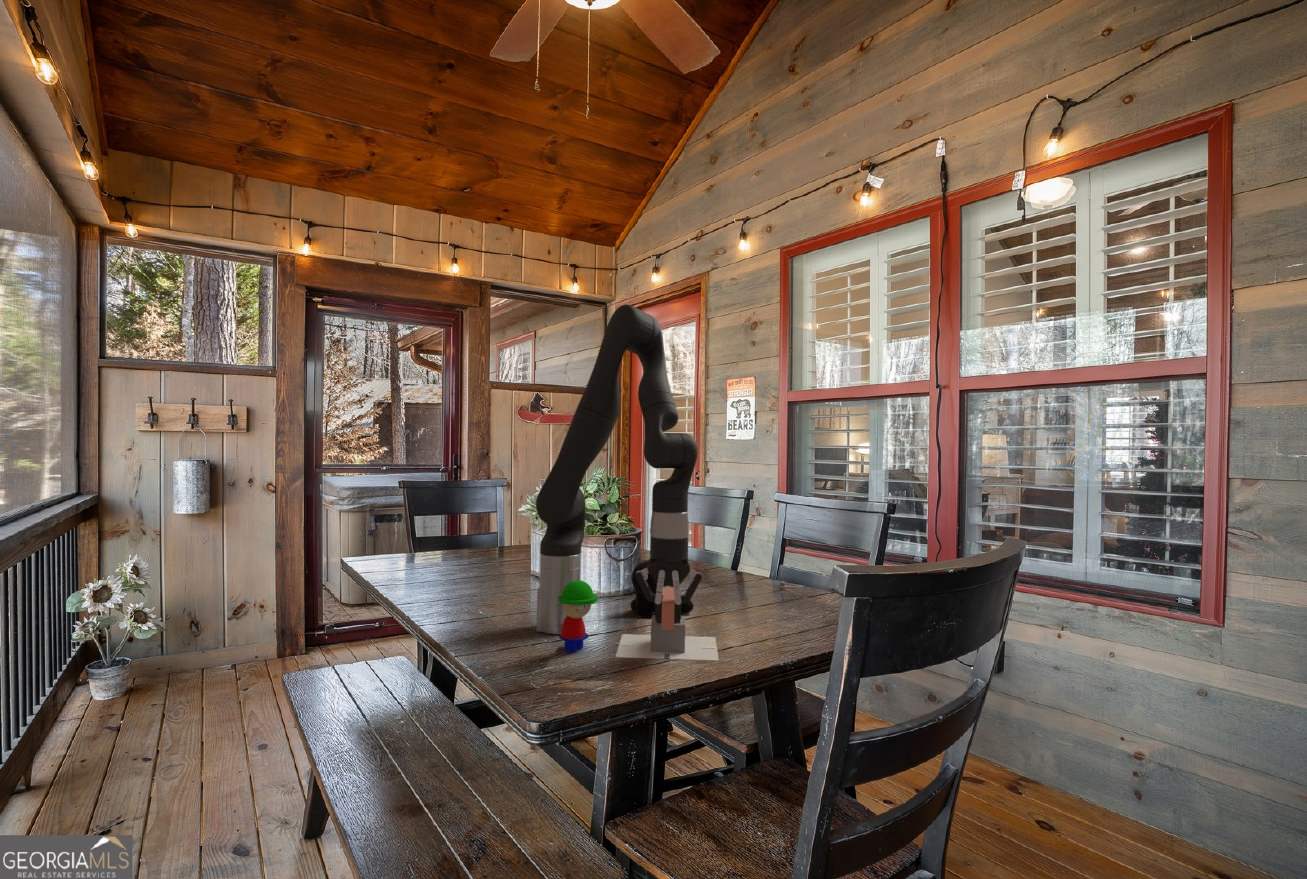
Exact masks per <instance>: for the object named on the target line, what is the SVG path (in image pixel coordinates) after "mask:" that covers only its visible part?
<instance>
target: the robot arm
mask: <svg viewBox="0 0 1307 879" xmlns="http://www.w3.org/2000/svg"><path fill="white" fill-rule="evenodd" d="M610 316H611V317H610V318H609V321H608V323H607V325H606V328H605V331H604V334H603V338H602V340H601V342H600V343H601V344H600V348H599V350H598V353H597V357H596V360H595V364H594V366H593V368H592V371H591V374H590V376H589V379H588V381H587V384H586V387H585V389H584V391H583V393H582V396H581V397H580V400H579V402H578V403H577V404H578V405H577V407H576V409H575V412H574V414H573V417H572V419H571V421H570V424H569V427H568V429H567V432H566V435H565V437H564V439H563V442H562V445H561V448H560V450H559V453H558V455H557V457H556V460H555V461H554V463H553V466H552V468H551V470H550V472H549V474H547V477H546V478H545V479H546V480H545V481H544V483H543V485H542V486H541V487H540V490H539V492H538V494H537V497H536V501H535V508H536V513H537V515H538V517H539V519H540V520H541V521H542V522H543V523H545V524H546V530H545V532H544V533H545V534H544V536H543V537H542V539H541V541H540V544H539V546H540V547H539V587H538V588H537V590H536V629H535V630H536V632H540V633H545V634H548V635H560V634H561V629H562V624H563V622H564V619H565V618H566V616H567V615H566V614H565V612H564V611H563V608H562V603H560V602H559V601H558V596H559V595H561V594H562V592H563V589H564V588H565V586H566V585H567V584H568V583H570V582H572V581H575V580H581V573H582V572H581V570H582V568H581V567H582V565H581V564H582V563H581V562H582V544H583V542H584V538H585V528H586V527H585V526H586V498H585V495H584V492H583V490H582V489H581V485H582V483H583V479H584V478H585V475H586V473H587V471H588V469H589V468H590V466H591V465H592V464H593V462H594V461H595V460H596V458H597V456H598V455H599V454H600V453H601V451H602V450H603V449H604V447H605V445H606V444H607V442H609V441H608V440H609V439H610V437H611V435H612V432H613V430H614V428H615V426H616V423H617V421H618V417H619V416H620V412H621V395H620V393H621V392H620V384H619V372H620V368H621V363H622V360H623V357H624V356H625V353H626V351H627V352H630V353H631V354H632V353H633V354H635V355H636V356H637V358H638V359H639V361H640V364H641V366H642V371H643V372H642V376H641V379H640V381H639V384H638V389H637V396H638V398H637V399H638V403H639V407H640V410H641V414H642V418H643V422H644V444H643V455H644V459H645V461H646V463H647V464H648V465H649V466H650V467H652V468H653V469H673V471H672V473H671V475H670V476H669V478H667V479H663V480H659V481H656V482H654V484H653V486H652V490H651V491H652V493H651V497H652V498H651V517H650V518H651V519H650V526H649V533H650V534H649V535H650V536H649V537H650V538H649V539H650V540H649V559H650V562H649V564H648V566H647V568H645V569H643V570H641V571H640V570H638V571H637V572H636V575H635V577H636V579H637V581H638V583H639V585H640V587H641V589H642V591H643V593H644V595H645V598H646V600H648V601H652V602H654V603H655V619H656V620H659V623H662V595H663V592H664V588H667V587H670V588H674V596H675V603H674V624H677V621H680V619H681V616H682V613H681V605H682V603H684V602H689V601H690V600H691V601H692V597H693V596H694V594H695V592H696V590H697V588H698V587H699V584H700V583H701V581H702V579H703V575H702V573H701V571H696V570H694V569H692V568H691V565H690V563H689V534H690V528H689V526H690V525H689V524H690V522H689V516H688V515H689V514H688V513H689V512H688V511H689V506H688V505H689V504H688V502H689V489H690V486H691V482H692V477H693V472H694V470H695V467H696V463H697V460H698V454H699V452H698V448H699V447H698V445H697V441H696V440H695V438H694V436H692V435H691V434H689V433H684V432H683V433H682V432H667V431H670V430H671V429H674V427H676V425H677V424H678V422H679V413H678V409H677V405H676V403H675V400H674V396H673V393H672V390H671V387H670V383H669V378H668V372H667V371H668V370H667V362H666V361H667V360H666V353H665V345H664V336H663V330H662V326H661V324H660V322H659V320H657V318H655V317H654V316H652V315H650V314H649V313H646V312H645V311H643V310H640V308H637V307H635V306H634V305H631V304H627V303H626V304H622V305H620V306H618V307H617V308H616V309H615V310H614V311H613V313H612V314H611V315H610ZM648 573H650V575H651V576H652V578H653V579H654V581H655V582H656V583H657V590H656V595H655V594H653V593H652V592H651V590H650V588H649V586H648V584H647V581H646V580H647V578H648V575H647V574H648ZM688 575H689V581H690V584H689V586H688V587H687V589H686V591H685V593H684V594H682V592H681V584H682V583H683V582H684V580H685V579H686V578H687V576H688ZM581 581H582V580H581Z"/></svg>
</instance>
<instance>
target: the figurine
mask: <svg viewBox="0 0 1307 879" xmlns="http://www.w3.org/2000/svg"><path fill="white" fill-rule="evenodd" d="M649 562H650V558H648V560H644V561H640V562H639V563H638V564H637V565H636V566H635V567H634V569H633V570H632V573H631V584H632V586H633V588H634V589H635V598H634V599H633V600H631V601H630V609H631V610H632V611H633V612H634V613H635V615H636V617H640V618H649V619H650V618H651V619H652V616H653V615H655V603H654V602H652V601H648V600H646V598H645V595H644V593H643V591H642V589H641V587H640V585H639V583H638V581H637V579H636V577H635V575H636V572H637V571H638V570H640V571H641V570H643V569H645V568H647V566H648V564H649ZM647 575H648V578H647V580H646V581H647V584H648V586H649V588H650V590H651V592H652V593H653V594H655V595H656V590H657V583H656V582H655V581H654V579H653V578H652V576H651V575H650V573H648V574H647ZM662 599H663V594H662ZM693 610H694V602H693V601H692V599H691V600H690V601H689V602H684V603H682V605H681V614H688V613H690V612H692V611H693Z"/></svg>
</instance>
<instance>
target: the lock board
mask: <svg viewBox="0 0 1307 879" xmlns="http://www.w3.org/2000/svg"><path fill="white" fill-rule="evenodd" d="M614 657H615V658H626V659H627V658H628V659H629V658H630V659H632V658H634V659H655V660H656V659H657V660H659V659H660V660H663V659H664V660H691V661H692V660H693V661H718V662H719V661H720V660H719V654H718V647H717V640H716V636H694V635H693V636H692V635H691V636H690V635H689V636H687V635H685V653H674V652H651V634H623V633H622V635H621V638H620V641H619V644H618V647H617V650H616V654H615V656H614Z"/></svg>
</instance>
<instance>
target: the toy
mask: <svg viewBox="0 0 1307 879" xmlns="http://www.w3.org/2000/svg"><path fill="white" fill-rule="evenodd" d="M598 597H599V596H598V595H597V594H595V593H594V591H593V588H592V587H591V585H590V584H589V583H588V582H586V581H585V580H575V581H572V582H570V583H568V584H567V585H566V586H565V588H564V589H563V592H562V594H561V595H559V596H558V601H559V602H560V603H562V608H563V611H564V612H565V614H566V615H567V616H566V618H565V619H564V622H563V624H562V629H561V634H558V637H559V639H560V640H562V641H564V642H563V643H564V650H563V651H564V653H569V654H570V653H576V652H577V651H579V650H583V649H584V640H587V639H588V638H589V634H588V633H587V632H586V625H585V622H584V620H583V617H585V616H586V615H587V614H588V613H589V612H590V611H591V608H592V604H594V603H598V601H599V598H598Z"/></svg>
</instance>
